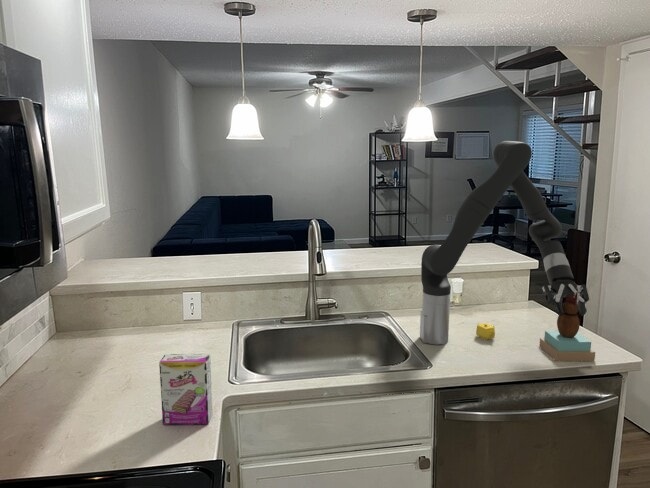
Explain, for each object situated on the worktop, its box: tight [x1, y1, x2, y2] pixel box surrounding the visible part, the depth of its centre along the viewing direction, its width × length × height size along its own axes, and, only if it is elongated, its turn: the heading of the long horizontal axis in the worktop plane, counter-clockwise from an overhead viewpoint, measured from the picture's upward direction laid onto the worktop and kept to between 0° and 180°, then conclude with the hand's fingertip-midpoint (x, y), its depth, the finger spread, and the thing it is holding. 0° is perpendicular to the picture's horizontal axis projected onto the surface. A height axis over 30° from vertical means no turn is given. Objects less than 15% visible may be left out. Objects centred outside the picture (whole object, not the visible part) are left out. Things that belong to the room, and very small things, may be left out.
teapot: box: [475, 323, 496, 341], centre depth 171 cm, size 8×6×5 cm
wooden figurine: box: [556, 291, 581, 338], centre depth 156 cm, size 7×6×15 cm
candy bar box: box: [158, 353, 213, 426], centre depth 117 cm, size 11×5×16 cm, turn 92°
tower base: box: [538, 330, 596, 362], centre depth 157 cm, size 12×12×6 cm
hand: (572, 314), depth 154 cm, fingers open, 6 cm apart
